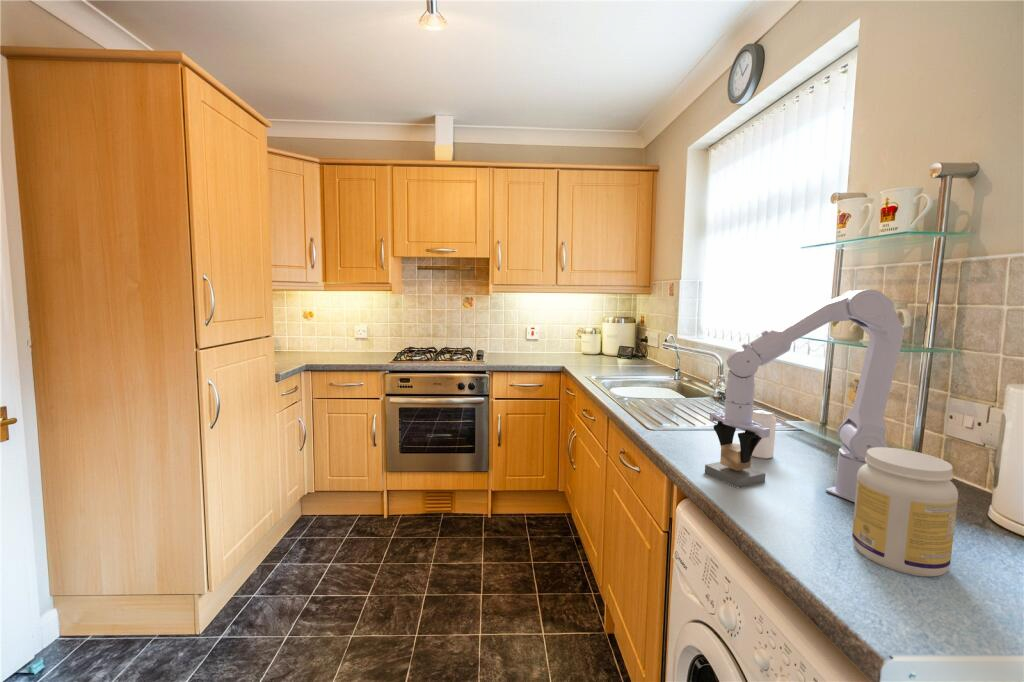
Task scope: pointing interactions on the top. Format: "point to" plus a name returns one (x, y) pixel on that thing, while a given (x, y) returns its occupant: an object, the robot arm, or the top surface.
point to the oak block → (732, 457)
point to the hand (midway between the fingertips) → (735, 458)
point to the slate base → (735, 475)
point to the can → (766, 444)
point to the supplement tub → (905, 511)
